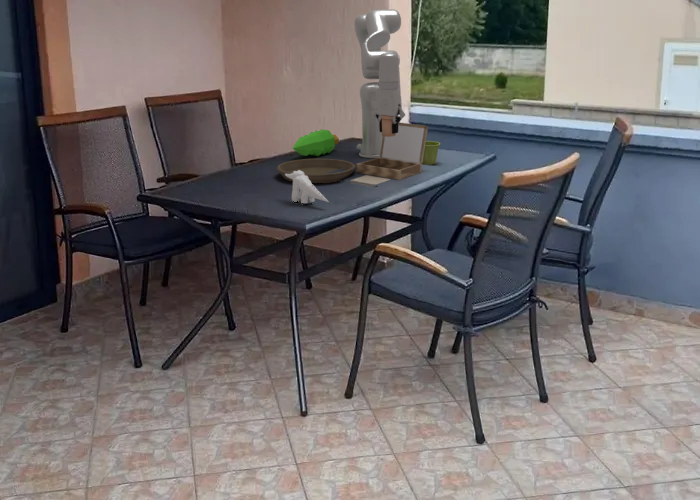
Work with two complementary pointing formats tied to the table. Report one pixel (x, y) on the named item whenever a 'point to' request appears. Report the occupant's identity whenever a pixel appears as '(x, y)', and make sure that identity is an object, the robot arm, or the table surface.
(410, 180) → the table surface
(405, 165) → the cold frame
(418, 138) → the lid
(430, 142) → the plant pot
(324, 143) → the decorative tree
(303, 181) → the dinosaur statue
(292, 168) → the plant saucer
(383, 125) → the tan rounded knob
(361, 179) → the sandstone tile
